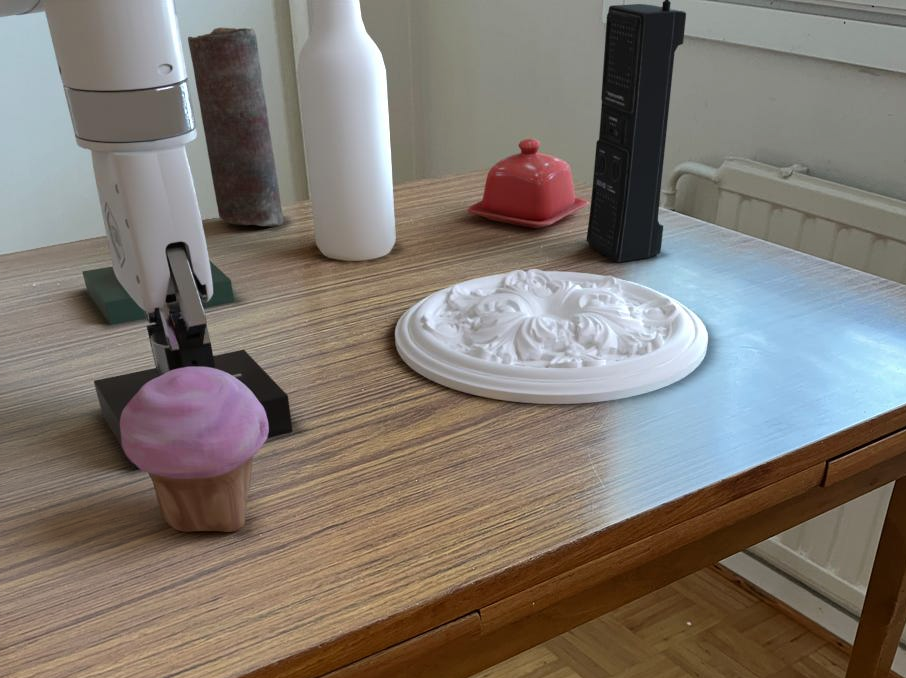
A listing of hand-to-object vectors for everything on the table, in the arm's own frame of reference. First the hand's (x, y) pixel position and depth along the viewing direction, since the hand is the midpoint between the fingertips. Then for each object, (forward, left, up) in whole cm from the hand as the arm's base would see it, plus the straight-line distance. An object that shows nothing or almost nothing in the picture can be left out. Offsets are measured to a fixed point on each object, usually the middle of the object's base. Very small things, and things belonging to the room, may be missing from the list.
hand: (188, 383), depth 73 cm
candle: (+21, +48, -4) cm, 52 cm away
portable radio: (+53, +18, -4) cm, 56 cm away
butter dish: (+51, +34, -4) cm, 61 cm away
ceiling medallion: (+33, +1, -4) cm, 33 cm away
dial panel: (0, 0, -3) cm, 3 cm away
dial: (0, 0, 0) cm, 0 cm away
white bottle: (+28, +33, -4) cm, 43 cm away
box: (+5, +29, -3) cm, 30 cm away
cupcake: (-3, -14, -4) cm, 15 cm away
